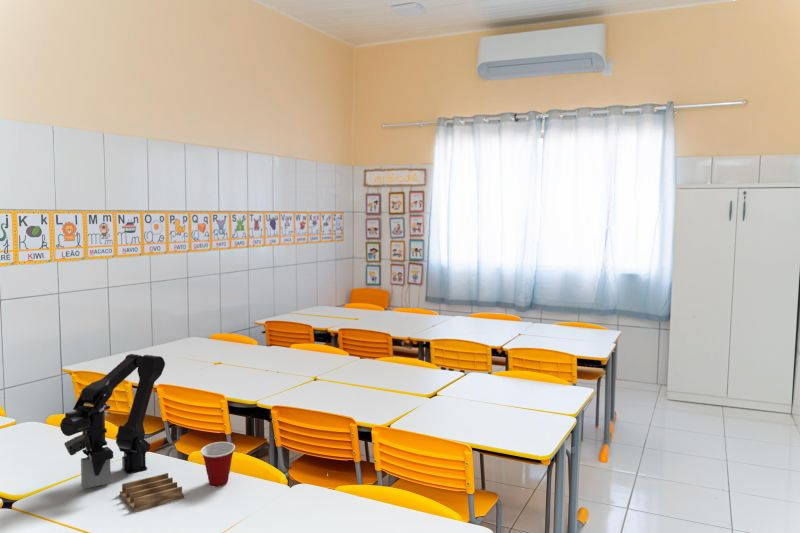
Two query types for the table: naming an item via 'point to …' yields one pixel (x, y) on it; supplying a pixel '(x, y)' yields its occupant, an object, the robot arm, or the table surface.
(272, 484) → the table surface
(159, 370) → the robot arm
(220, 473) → the plastic cup
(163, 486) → the rack
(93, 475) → the slate
